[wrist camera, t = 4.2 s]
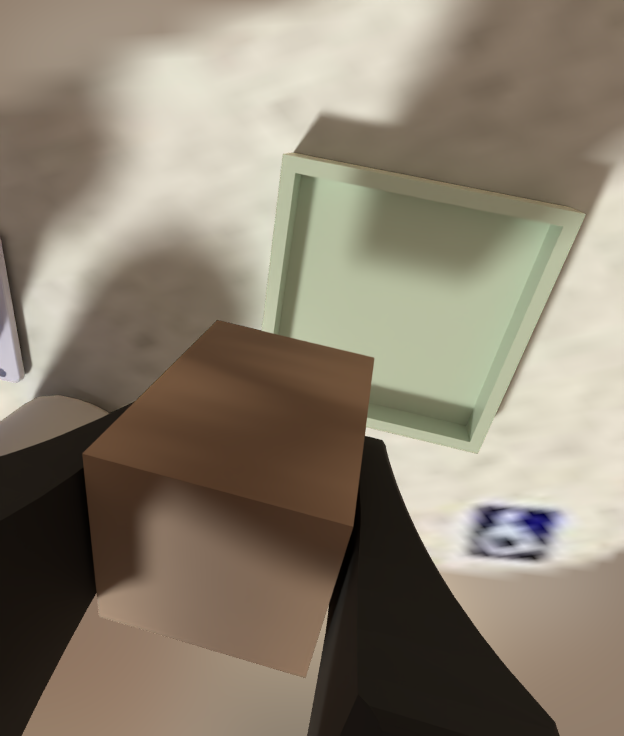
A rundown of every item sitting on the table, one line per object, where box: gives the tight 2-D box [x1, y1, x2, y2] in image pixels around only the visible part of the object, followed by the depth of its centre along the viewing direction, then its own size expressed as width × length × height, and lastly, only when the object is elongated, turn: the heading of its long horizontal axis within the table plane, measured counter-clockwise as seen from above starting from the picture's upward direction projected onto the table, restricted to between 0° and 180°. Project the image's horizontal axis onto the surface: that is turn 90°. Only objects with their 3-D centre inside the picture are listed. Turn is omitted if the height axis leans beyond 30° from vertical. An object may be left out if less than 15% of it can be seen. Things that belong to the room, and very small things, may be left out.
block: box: [82, 320, 374, 678], centre depth 11 cm, size 4×4×6 cm
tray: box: [262, 153, 586, 454], centre depth 18 cm, size 10×10×2 cm
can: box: [0, 395, 109, 456], centre depth 20 cm, size 8×8×12 cm
